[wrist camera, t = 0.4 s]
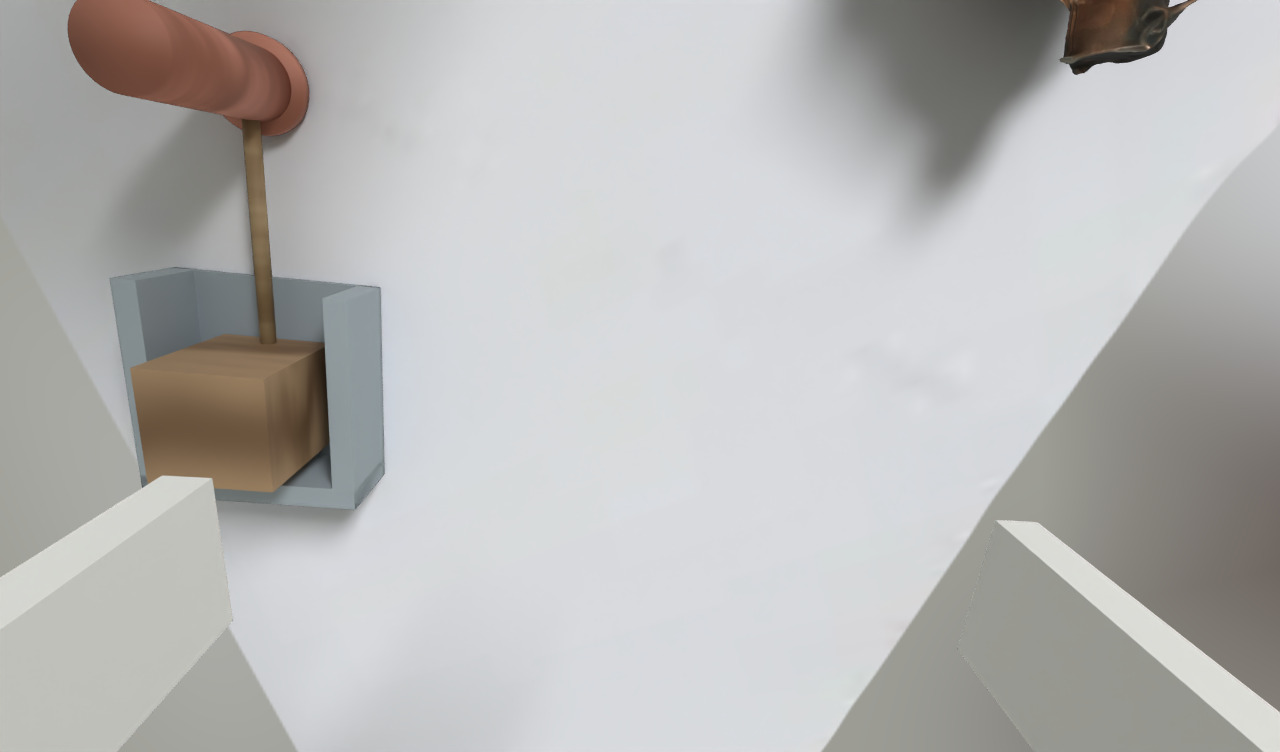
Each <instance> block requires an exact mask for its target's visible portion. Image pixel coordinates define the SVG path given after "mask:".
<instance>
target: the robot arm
mask: <svg viewBox="0 0 1280 752" xmlns="http://www.w3.org/2000/svg"><path fill="white" fill-rule="evenodd" d="M232 621H233V616H232V609H231V602H230V596H229V589H228V582H227V575H226V568H225V562H224V555H223V548H222V541H221V534H220V527H219V521H218V514H217V507H216V500H215V493H214V487H213V480H212V478H200V477H182V476H163V475H162V476H161V477H159V478H157V479H156V480H154V481H153V482H151V483H149V484H148V485H146V486H145V487H143V488H142V489H140V490H138V491H137V492H135V493H134V494H132V495H130V496H129V497H127V498H126V499H124V500H123V501H121V502H119V503H118V504H116V505H115V506H113V507H111V508H110V509H108V510H107V511H105V512H103V513H102V514H100V515H99V516H97V517H95V518H94V519H92V520H91V521H89V522H88V523H86V524H85V525H83V526H81V527H80V528H78V529H76V530H75V531H73V532H72V533H70V534H68V535H67V536H65V537H64V538H62V539H61V540H59V541H57V542H56V543H54V544H53V545H51V546H49V547H48V548H46V549H45V550H43V551H41V552H40V553H38V554H37V555H35V556H34V557H32V558H30V559H29V560H27V561H26V562H24V563H22V564H21V565H20V566H18V567H16V568H14V569H13V570H11V571H10V572H8V573H7V574H5V575H3V576H2V577H0V752H117V751H118V750H119V749H120V748H121V746H122V745H123V744H124V743H125V742H126V741H127V740H128V739H129V737H130V736H131V735H132V734H133V733H134V732H135V731H136V730H137V728H138V727H139V726H140V725H141V724H142V723H143V722H144V721H145V719H146V718H147V717H148V716H149V715H150V714H151V713H152V712H153V710H154V709H155V708H156V707H157V706H158V705H159V704H160V702H161V701H162V700H163V699H164V698H165V697H166V696H167V695H168V693H169V692H170V691H171V690H172V689H173V688H174V687H175V686H176V684H177V683H178V682H179V681H180V680H181V679H182V678H183V676H184V675H185V674H186V673H187V672H188V671H189V670H190V669H191V668H192V666H193V665H194V664H195V663H196V662H197V661H198V660H199V659H200V657H201V656H202V655H203V654H204V653H205V652H206V651H207V650H208V648H209V647H210V646H211V645H212V644H213V643H214V642H215V640H216V639H217V638H218V637H219V636H220V635H221V633H222V632H223V631H224V630H225V629H226V628H227V627H228V626H229V625H230V624H231V622H232ZM957 649H958V650H959V652H960V653H961V654H962V656H963V657H964V658H965V660H966V661H967V662H968V664H969V665H970V666H971V668H972V669H973V670H974V672H975V673H976V674H977V676H978V677H979V678H980V680H981V681H982V682H983V684H984V685H985V686H986V688H987V689H988V690H989V692H990V693H991V694H992V696H993V697H994V699H995V700H996V701H997V702H998V704H999V705H1000V706H1001V708H1002V709H1003V711H1004V712H1005V713H1006V715H1007V716H1008V717H1009V718H1010V720H1011V721H1012V723H1013V724H1014V725H1015V727H1016V728H1017V729H1018V731H1019V732H1020V733H1021V735H1022V736H1023V737H1024V739H1025V740H1026V741H1027V743H1028V744H1029V745H1030V746H1031V748H1032V749H1033V751H1034V752H1280V713H1279V712H1278V711H1277V710H1276V709H1275V708H1273V707H1272V706H1271V705H1269V704H1268V703H1267V702H1266V701H1264V700H1263V699H1262V698H1261V697H1259V696H1258V695H1257V694H1255V693H1254V692H1253V691H1252V690H1250V689H1249V688H1248V687H1246V686H1245V685H1244V684H1243V683H1241V682H1240V681H1239V680H1238V679H1236V678H1235V677H1234V676H1233V675H1231V674H1230V673H1228V672H1227V671H1226V670H1225V669H1223V668H1222V667H1221V666H1220V665H1218V664H1217V663H1216V662H1214V661H1213V660H1212V659H1211V658H1210V657H1208V656H1207V655H1206V654H1204V653H1203V652H1202V651H1201V650H1199V649H1198V648H1197V647H1195V646H1194V645H1193V644H1192V643H1190V642H1189V641H1188V640H1187V639H1185V638H1184V637H1183V636H1182V635H1180V634H1179V633H1177V632H1176V631H1175V630H1174V629H1173V628H1171V627H1170V626H1169V625H1167V624H1166V623H1165V622H1164V621H1162V620H1161V619H1160V618H1159V617H1157V616H1156V615H1155V614H1153V613H1152V612H1151V611H1150V610H1148V609H1147V608H1146V607H1145V606H1143V605H1142V604H1141V603H1139V602H1138V601H1137V600H1136V599H1134V598H1133V597H1132V596H1130V595H1129V594H1128V593H1127V592H1125V591H1124V590H1123V589H1122V588H1120V587H1119V586H1118V585H1116V584H1115V583H1114V582H1113V581H1111V580H1110V579H1109V578H1108V577H1106V576H1105V575H1104V574H1102V573H1101V572H1100V571H1098V570H1097V569H1096V568H1095V567H1093V566H1092V565H1091V564H1090V563H1088V562H1087V561H1086V560H1085V559H1083V558H1082V557H1081V556H1080V555H1078V554H1077V553H1076V552H1074V551H1073V550H1072V549H1071V548H1069V547H1068V546H1067V545H1065V544H1064V543H1063V542H1062V541H1060V540H1059V539H1058V538H1056V537H1055V536H1054V535H1053V534H1051V533H1050V532H1049V531H1048V530H1046V529H1045V528H1044V527H1043V526H1041V525H1040V524H1039V523H1037V522H1022V521H1004V520H995V524H994V527H993V530H992V533H991V537H990V540H989V543H988V547H987V550H986V553H985V557H984V560H983V564H982V567H981V570H980V574H979V577H978V581H977V584H976V587H975V590H974V594H973V597H972V601H971V604H970V607H969V611H968V614H967V617H966V621H965V624H964V627H963V631H962V634H961V637H960V641H959V644H958V648H957Z"/></svg>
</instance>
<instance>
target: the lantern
mask: <svg viewBox="0 0 1280 752" xmlns="http://www.w3.org/2000/svg"><path fill="white" fill-rule="evenodd" d="M1060 1H1061V2H1063V3H1064V4H1065V6H1066V7H1067V8H1068V9H1069V11H1070V16H1069V23H1068V30H1067V35H1066V42H1065V50H1064V58H1061V59H1059V60H1060V61H1061V62H1064V63H1066V64H1069V65H1070V67H1071V69H1072V72H1073V73H1074V74H1075V75H1078V74H1081V73H1085V72H1086V71H1088V70H1089V69H1090V68H1091V67H1092V66H1094V65H1096V64H1101V63H1106V62H1113V63H1128V62H1132V61H1135V60H1138V59H1141V58H1144V57H1146V56H1150V55H1152V54H1154V53H1156V52H1158V51H1159V50H1160V49H1161V48H1162V46H1163V44H1164V42H1165V38H1166V35H1167V28H1168V27H1169V26H1170V25H1171V24H1172V23H1173V22H1174V21H1175V20H1176V19H1177V17H1178V16H1179V14H1181V13H1182V12H1183V11H1184V9H1185V8H1186V7H1187V6H1189V5H1190V4H1192V3H1194V2H1196V1H1197V0H1188V1H1186V2H1183V3H1180V4H1177V5H1175V6H1172V7H1168V5H1169V1H1170V0H1060Z"/></svg>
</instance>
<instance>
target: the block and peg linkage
mask: <svg viewBox="0 0 1280 752" xmlns="http://www.w3.org/2000/svg"><path fill="white" fill-rule="evenodd" d="M68 37H69V42H70V45H71V48H72V51H73V53H74V55H75V58H76V59H77V61H78V63H79V64H80V66H81V67H82V68H83V70H84V71H85V72H86V73H87V74H88V75H89V76H90V77H91V78H92V79H93V80H94V81H95V82H96V83H98V84H99V85H101V86H102V87H104V88H106V89H107V90H110V91H112V92H114V93H117V94H121V95H126V96H131V97H136V98H141V99H146V100H150V101H155V102H160V103H165V104H170V105H175V106H180V107H185V108H190V109H195V110H200V111H205V112H210V113H215V114H220V115H223V116H224V117H225V118H226V119H227V120H228V121H230V122H231V123H232V124H233V125H235V126H237V127H238V128H240V129H242V131H243V143H244V155H245V167H246V179H247V191H248V203H249V214H250V226H251V238H252V250H253V262H254V274H255V286H256V298H257V309H258V321H259V333H260V337H255V336H244V335H233V334H223V335H220V336H217V337H214V338H212V339H209V340H206V341H203V342H200V343H198V344H195V345H192V346H189V347H187V348H184V349H181V350H178V351H175V352H173V353H170V354H167V355H164V356H161V357H159V358H156V359H153V360H150V361H148V362H145V363H142V364H139V365H136V366H134V367H131V368H130V372H131V378H132V385H133V392H134V398H135V405H136V411H137V418H138V424H139V431H140V437H141V444H142V451H143V457H144V464H145V470H146V477H147V483H148V484H149V483H151V482H153V481H154V480H156V479H157V478H159V477H161V476H162V475H163V476H182V477H200V478H212V480H213V487H214V488H218V489H232V490H246V491H260V492H274V491H275V490H276V489H278V488H279V487H280V486H281V485H282V484H283V483H284V482H286V481H287V480H288V479H289V478H290V477H291V476H292V475H294V474H295V473H296V472H297V471H298V470H299V469H300V468H302V467H303V466H304V465H305V464H306V463H307V462H308V461H310V460H311V459H312V458H313V457H314V456H315V455H316V454H318V453H319V452H320V451H321V450H322V449H323V448H324V447H326V446H327V445H328V444H329V443H330V436H329V417H328V397H327V378H326V358H325V343H322V342H311V341H299V340H288V339H277V336H276V323H275V310H274V297H273V284H272V270H271V257H270V244H269V231H268V218H267V204H266V191H265V178H264V165H263V151H262V138H261V135H266V136H274V135H280V134H284V133H286V132H288V131H290V130H292V129H293V128H294V127H296V126H297V125H298V124H299V123H300V121H301V120H302V119H303V117H304V115H305V113H306V111H307V107H308V103H309V85H308V81H307V77H306V75H305V72H304V70H303V68H302V66H301V64H300V63H299V61H298V59H297V58H296V57H295V56H294V54H293V53H292V52H291V51H290V50H289V49H288V48H286V47H285V46H284V45H283V44H281V43H279V42H278V41H276V40H274V39H272V38H270V37H268V36H265V35H263V34H260V33H257V32H251V31H239V32H234V33H231V34H228V33H226V32H223V31H221V30H219V29H216V28H214V27H211V26H209V25H207V24H204V23H202V22H199V21H197V20H195V19H192V18H190V17H187V16H185V15H183V14H180V13H178V12H175V11H173V10H171V9H168V8H166V7H163V6H161V5H159V4H156V3H154V2H151V1H149V0H77V1H76V2H75V3H74V5H73V7H72V9H71V11H70V15H69V19H68Z"/></svg>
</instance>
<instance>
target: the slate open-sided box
mask: <svg viewBox="0 0 1280 752" xmlns="http://www.w3.org/2000/svg"><path fill="white" fill-rule="evenodd" d="M110 284H111V291H112V297H113V304H114V310H115V316H116V323H117V329H118V336H119V342H120V348H121V355H122V361H123V368H124V374H125V381H126V387H127V393H128V400H129V406H130V413H131V419H132V426H133V432H134V438H135V445H136V451H137V458H138V464H139V470H140V477H141V483H142V488H143V487H145V486H146V485H148V483H147V477H146V470H145V464H144V457H143V451H142V444H141V437H140V431H139V424H138V418H137V411H136V405H135V398H134V392H133V385H132V378H131V372H130V368H131V367H134V366H136V365H139V364H142V363H145V362H148V361H150V360H153V359H156V358H159V357H161V356H164V355H167V354H170V353H173V352H175V351H178V350H181V349H184V348H187V347H189V346H192V345H195V344H198V343H200V342H203V341H206V340H209V339H212V338H214V337H217V336H220V335H223V334H233V335H244V336H255V337H260V333H259V321H258V309H257V298H256V286H255V275H248V274H238V273H227V272H217V271H207V270H196V269H186V268H175V267H174V268H168V269H162V270H156V271H150V272H144V273H138V274H132V275H126V276H120V277H114V278H110ZM272 284H273V297H274V310H275V323H276V336H277V339H288V340H299V341H311V342H322V343H325V358H326V378H327V397H328V417H329V436H330V443H329V444H328V445H327V446H326V447H324V448H323V449H322V450H321V451H320V452H319V453H318V454H316V455H315V456H314V457H313V458H312V459H311V460H310V461H308V462H307V463H306V464H305V465H304V466H303V467H302V468H300V469H299V470H298V471H297V472H296V473H295V474H294V475H292V476H291V477H290V478H289V479H288V480H287V481H286V482H284V483H283V484H282V485H281V486H280V487H279V488H278V489H276V490H275V491H274V492H260V491H246V490H232V489H218V488H214V493H215V500H223V501H238V502H252V503H266V504H280V505H295V506H309V507H323V508H337V509H352V510H355V509H356V508H357V507H358V505H359V504H360V503H361V502H362V501H363V499H364V498H365V497H366V496H367V495H368V493H369V492H370V491H371V490H372V488H373V487H374V486H375V485H376V484H377V482H378V481H379V480H380V479H381V477H382V476H383V475H384V474H385V473H384V429H383V384H382V340H381V296H380V287H372V286H362V285H351V284H341V283H331V282H320V281H310V280H300V279H289V278H279V277H272Z"/></svg>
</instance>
